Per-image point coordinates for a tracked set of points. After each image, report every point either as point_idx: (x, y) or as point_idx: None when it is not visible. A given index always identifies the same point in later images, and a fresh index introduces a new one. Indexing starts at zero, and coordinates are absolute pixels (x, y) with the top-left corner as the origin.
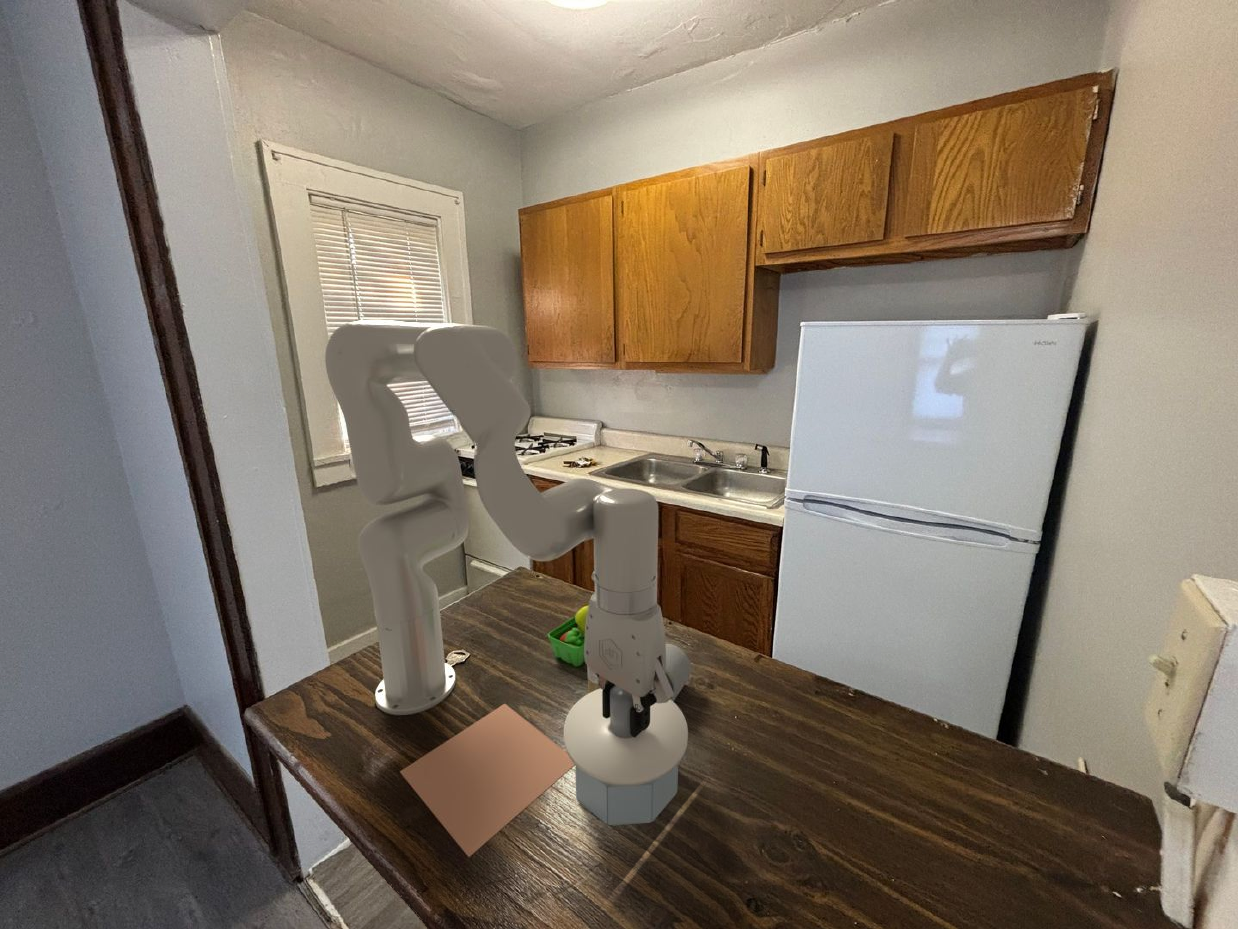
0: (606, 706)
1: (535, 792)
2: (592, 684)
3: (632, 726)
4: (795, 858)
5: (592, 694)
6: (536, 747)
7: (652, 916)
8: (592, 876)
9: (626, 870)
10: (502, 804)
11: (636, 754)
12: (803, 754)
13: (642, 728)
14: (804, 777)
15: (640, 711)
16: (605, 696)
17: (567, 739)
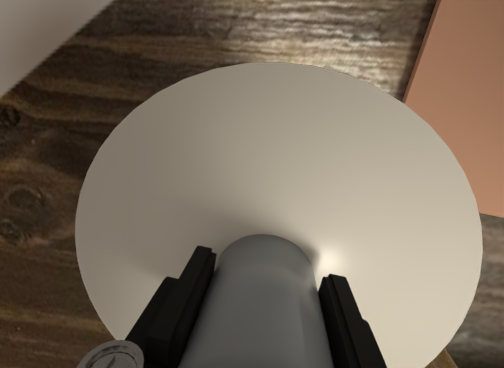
0: (338, 315)
1: (425, 83)
2: (443, 364)
3: (189, 271)
4: (3, 205)
5: (432, 344)
6: (485, 178)
7: (107, 11)
8: (225, 7)
9: (181, 54)
10: (487, 14)
11: (175, 201)
12: (66, 353)
13: (164, 281)
14: (49, 321)
15: (101, 347)
16: (359, 365)
17: (426, 141)
